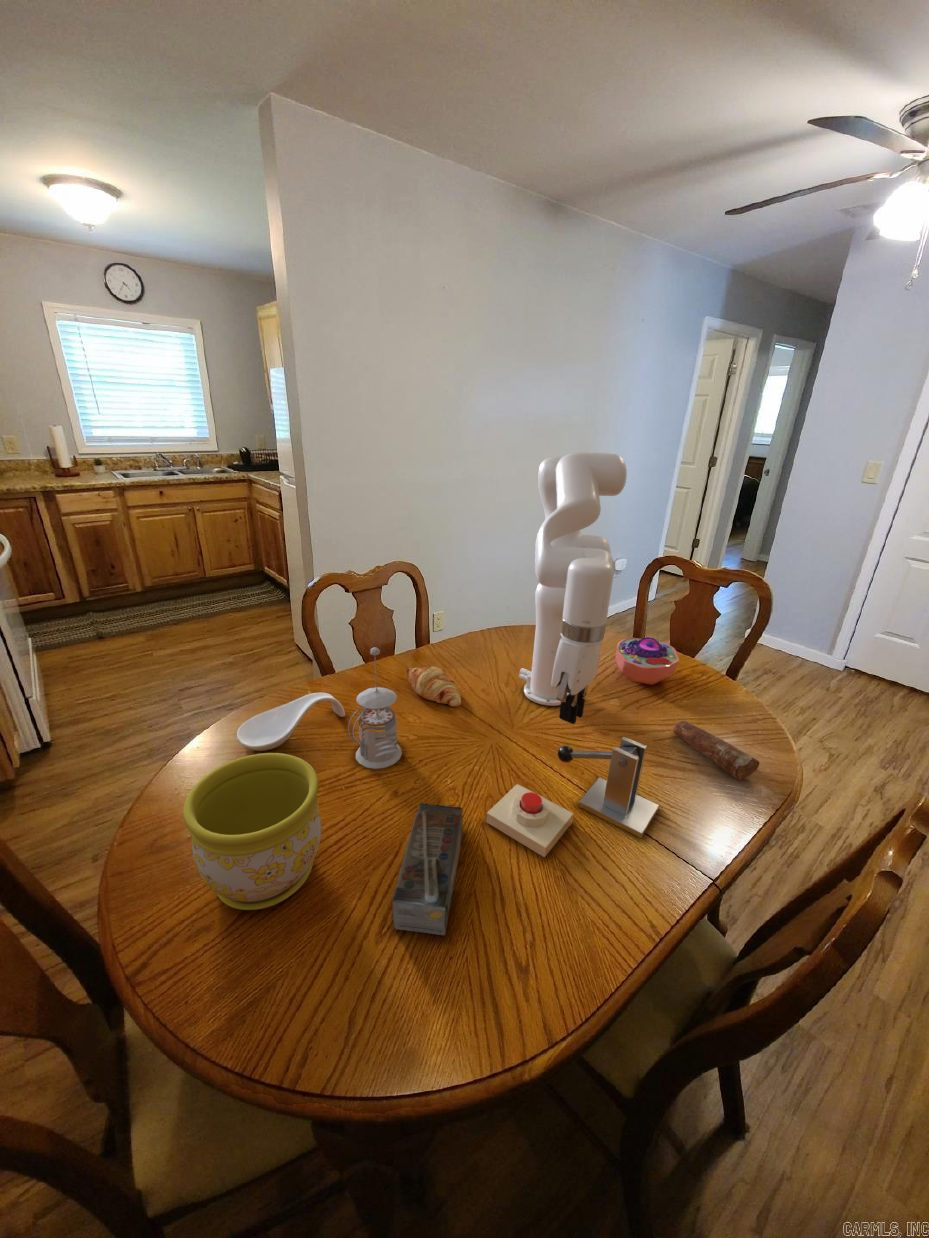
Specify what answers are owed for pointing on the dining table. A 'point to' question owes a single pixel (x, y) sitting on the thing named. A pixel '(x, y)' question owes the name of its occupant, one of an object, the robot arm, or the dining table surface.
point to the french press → (377, 713)
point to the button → (531, 803)
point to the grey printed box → (428, 870)
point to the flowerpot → (255, 828)
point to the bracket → (622, 792)
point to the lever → (589, 753)
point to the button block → (530, 821)
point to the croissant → (434, 685)
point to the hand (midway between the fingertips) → (570, 716)
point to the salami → (717, 750)
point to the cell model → (646, 659)
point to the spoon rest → (280, 722)
